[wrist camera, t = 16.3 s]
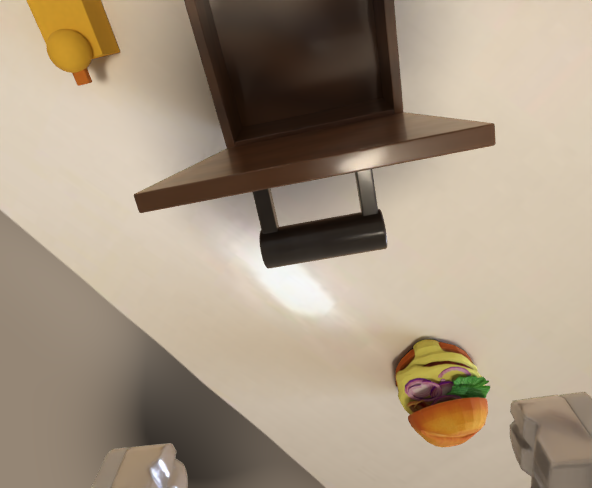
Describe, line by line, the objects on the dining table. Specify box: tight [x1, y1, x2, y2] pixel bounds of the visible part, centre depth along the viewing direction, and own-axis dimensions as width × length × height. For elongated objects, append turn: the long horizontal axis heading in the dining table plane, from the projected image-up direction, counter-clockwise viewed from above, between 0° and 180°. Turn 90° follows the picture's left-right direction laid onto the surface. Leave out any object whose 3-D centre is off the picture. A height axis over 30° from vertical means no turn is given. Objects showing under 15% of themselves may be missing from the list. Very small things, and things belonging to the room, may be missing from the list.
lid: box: [134, 112, 495, 268], centre depth 25 cm, size 17×14×5 cm
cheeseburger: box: [396, 339, 490, 447], centre depth 49 cm, size 10×11×10 cm
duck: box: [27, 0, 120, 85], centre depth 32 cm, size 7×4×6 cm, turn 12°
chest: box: [184, 0, 403, 149], centre depth 31 cm, size 16×14×6 cm
